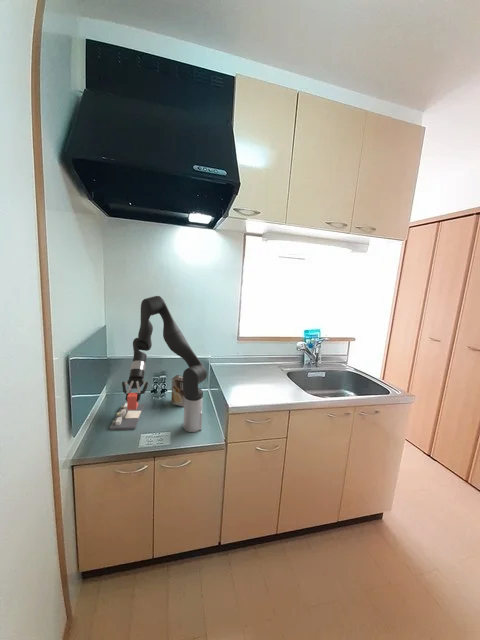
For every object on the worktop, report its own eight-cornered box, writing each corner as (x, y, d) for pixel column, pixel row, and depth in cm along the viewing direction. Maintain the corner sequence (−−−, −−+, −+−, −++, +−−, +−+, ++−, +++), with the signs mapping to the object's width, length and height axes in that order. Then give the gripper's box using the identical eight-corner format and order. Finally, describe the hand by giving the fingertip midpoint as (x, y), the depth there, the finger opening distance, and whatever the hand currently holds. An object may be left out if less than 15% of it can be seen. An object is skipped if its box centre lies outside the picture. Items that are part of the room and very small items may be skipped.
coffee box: (189, 402, 159) (190, 377, 156) (184, 407, 153) (185, 381, 150) (176, 398, 162) (177, 374, 159) (170, 403, 156) (171, 378, 153)
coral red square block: (138, 405, 142) (138, 392, 141) (136, 409, 138) (136, 396, 136) (129, 405, 142) (129, 392, 140) (127, 409, 137) (127, 396, 136)
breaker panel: (144, 405, 152) (144, 400, 151) (135, 429, 131) (135, 423, 130) (122, 406, 150) (122, 400, 149) (109, 429, 129) (109, 424, 128)
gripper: (122, 367, 143) (116, 399, 134) (150, 368, 145) (145, 399, 136) (125, 372, 149) (119, 403, 140) (151, 373, 151) (147, 403, 142)
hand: (132, 401), depth 138 cm, fingers closed on coral red square block, 4 cm apart
